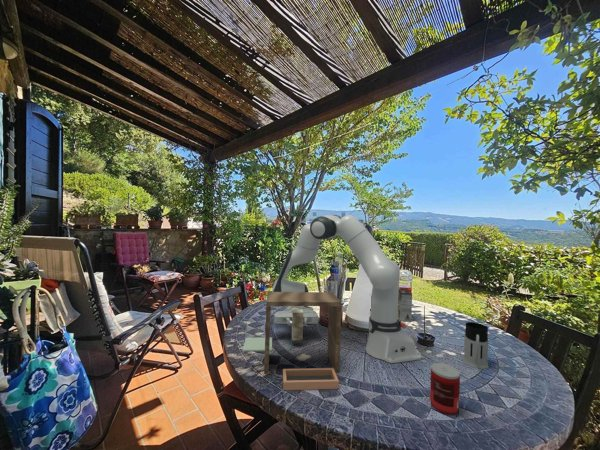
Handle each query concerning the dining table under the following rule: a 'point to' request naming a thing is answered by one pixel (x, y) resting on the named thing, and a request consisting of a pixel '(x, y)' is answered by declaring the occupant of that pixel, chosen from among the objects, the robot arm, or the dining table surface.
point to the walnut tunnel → (308, 300)
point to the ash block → (297, 324)
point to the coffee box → (405, 305)
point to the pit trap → (310, 379)
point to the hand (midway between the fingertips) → (297, 323)
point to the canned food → (445, 388)
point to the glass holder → (476, 345)
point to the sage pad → (256, 344)
